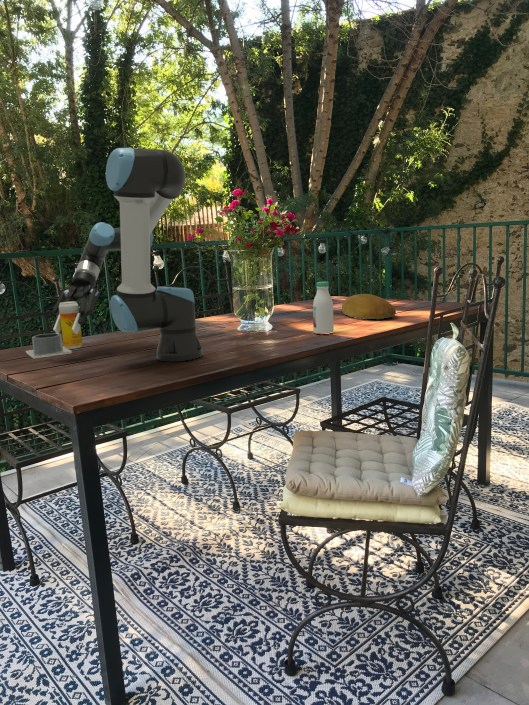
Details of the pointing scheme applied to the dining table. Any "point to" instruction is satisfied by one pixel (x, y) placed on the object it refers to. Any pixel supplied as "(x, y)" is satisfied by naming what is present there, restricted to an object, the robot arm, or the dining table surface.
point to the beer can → (69, 325)
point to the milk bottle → (322, 309)
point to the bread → (368, 307)
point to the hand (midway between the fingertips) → (65, 331)
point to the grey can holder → (47, 346)
